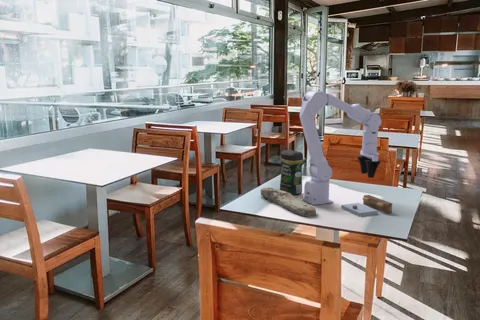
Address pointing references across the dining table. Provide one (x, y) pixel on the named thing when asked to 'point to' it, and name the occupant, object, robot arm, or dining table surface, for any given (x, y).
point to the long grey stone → (288, 201)
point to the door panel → (359, 209)
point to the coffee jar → (291, 171)
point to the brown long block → (377, 203)
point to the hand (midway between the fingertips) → (367, 175)
